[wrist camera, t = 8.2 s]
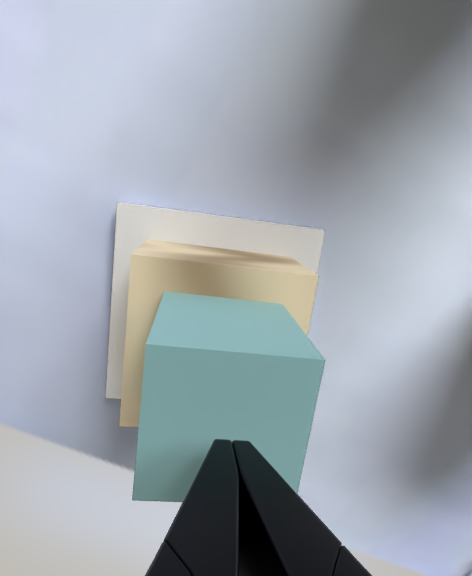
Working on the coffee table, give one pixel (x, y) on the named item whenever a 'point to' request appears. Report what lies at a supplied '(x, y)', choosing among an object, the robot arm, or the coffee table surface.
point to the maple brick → (202, 281)
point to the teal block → (222, 389)
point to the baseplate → (194, 231)
